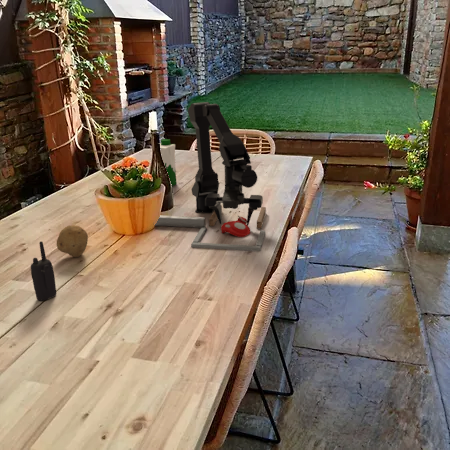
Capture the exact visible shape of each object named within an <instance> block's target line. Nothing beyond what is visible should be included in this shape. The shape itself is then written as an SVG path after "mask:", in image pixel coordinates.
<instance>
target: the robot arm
mask: <svg viewBox="0 0 450 450" xmlns="http://www.w3.org/2000/svg"><path fill="white" fill-rule="evenodd" d="M187 114H188V117H189V121H190V124H191V125H192V126H193V128H194V129H195V138H196V151H197V160H198V169H197V171H196V173H195V178H194V179H195V180H194V184H193V185H192V187H191V193H192V196H193V197H195V205H196V209H195V213H207V214H213V212H214V211H215V213H216V215H217V218H218V219H217V221H218V222H219V225H223V216H222V215H223V214H222V213H223V212H221V205H222V208H223V209H233V210H235V209H238V207H239V206H241V205H244V204H245V205H246V204H248V208H247V217H246V220H247V223H246V225H247V226H248V227H249V225H250V221H251V218H252V216H253V213H254V211H256V210H258V209H260V208H262V207H263V201H264V200H263V199H264V198H263V196H262V195H261V194H250V196H249V197H245V194H244V193H245V192H243V187H244V188H247V189H249V188H252V187H254V186H255V185H256V184H257V181H258V175H257V172H256V171H255V170H253V166H252V165H251V163H252V162H251V157H250V155H249V153H248V152H249V151H247V147H246V145H245V143H244V142H243V141H242V140H241V138H240V137H239V136H238V135H235V134H234V133H233V131H232V130H231V128H230V127H229V125H228V123H227V120H226V119H225V117H224V115H223V113H222V111H221V108H220V105H219V104H217V103H210V102H208V101H205V102H194V103H191V104H190V106H189V107H188V109H187ZM210 127H211V128H212V130H213V132H214V134H215V136H216V138H217V140H218V142H219V146H218V150H219V154H220V156H221V158H222V162H221V164H222V165H223V166H224V191H223V192H222V193H223V195H222V196H221V195H220V193H219V188H220V181H219V174H218V173H217V172H215V170H214V169H213V161H212V151H211V148H212V147H211V138H210V135H211V134H210ZM221 203H222V204H221Z"/></svg>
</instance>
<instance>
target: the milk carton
mask: <svg viewBox="0 0 450 450" xmlns="http://www.w3.org/2000/svg"><path fill="white" fill-rule="evenodd" d="M159 144H160V148H161V154H162V159H163V162H164V165H165V167H166V170H167V172H168V175H169V178H170V181H171V184H172V187H174V186H176V185H177V176H176V175H177V174H176V172H177V171H176V157H175V155H176V154H175V153H176V144H175V143H171V139H170V138H169V139H168V138H164V139H163V138H162V139H161V140H160V143H159Z"/></svg>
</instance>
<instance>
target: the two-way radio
mask: <svg viewBox="0 0 450 450" xmlns="http://www.w3.org/2000/svg"><path fill="white" fill-rule="evenodd" d="M39 251H40V257H41V259H40V260H39V259H38V258H37V257H33V258H32V263H31V264H30V273H31V274H30V275H31V280H32V283H33V284H32V285H33V289H34V293H35V297H36V299H37V301H38V302H39V301H40V302H43V301H47V300H49V299H51V298H53V297H55V296H56V295H57V287H56V280H55V279H56V278H55V272H54V271H55V270H54V266H53V264H52V262H51V260H49V258H47V257H46V251H45V246H44V243H43V241H39Z"/></svg>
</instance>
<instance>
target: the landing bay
mask: <svg viewBox="0 0 450 450" xmlns="http://www.w3.org/2000/svg"><path fill="white" fill-rule="evenodd" d="M206 231H207V227H202V228H200V229H199V231H198V232H197V234H196V235H195V237H194V239H193V240H192V242H191V244H190V246H191V247H190V248H197V249H198V248H200V249H201V248H202V249H203V248H204V249H217V250H220V249H221V250H235V251H251V252H252V251H253V252H255V251H256V252H261V249H262V245H263V242H264V239H265V238H264V237H265V235H266V230H263V229H260V230H259V234H258V236H257V237H258V238H257V241H256V243H255V245H249V244H248V245H247V244H229V243H228V244H227V243H212V242H210V243H209V242H200V241H201V240H202V238H203V236H204V235H205V233H206Z"/></svg>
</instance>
